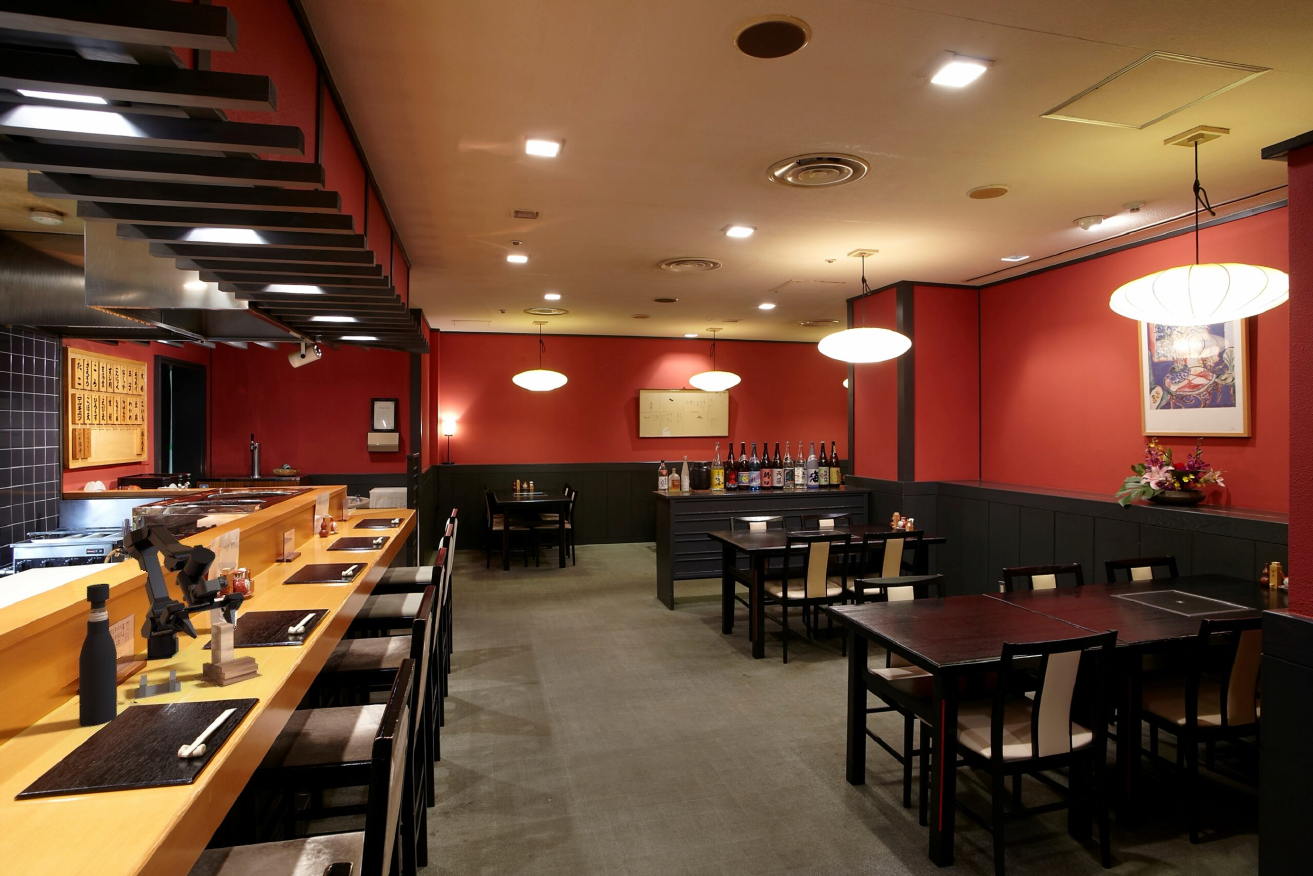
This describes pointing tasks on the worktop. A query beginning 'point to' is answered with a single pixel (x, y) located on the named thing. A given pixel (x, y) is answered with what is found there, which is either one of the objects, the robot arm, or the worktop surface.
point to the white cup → (219, 615)
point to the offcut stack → (235, 670)
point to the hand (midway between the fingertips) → (215, 633)
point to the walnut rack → (210, 675)
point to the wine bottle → (97, 664)
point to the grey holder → (157, 687)
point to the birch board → (221, 642)
